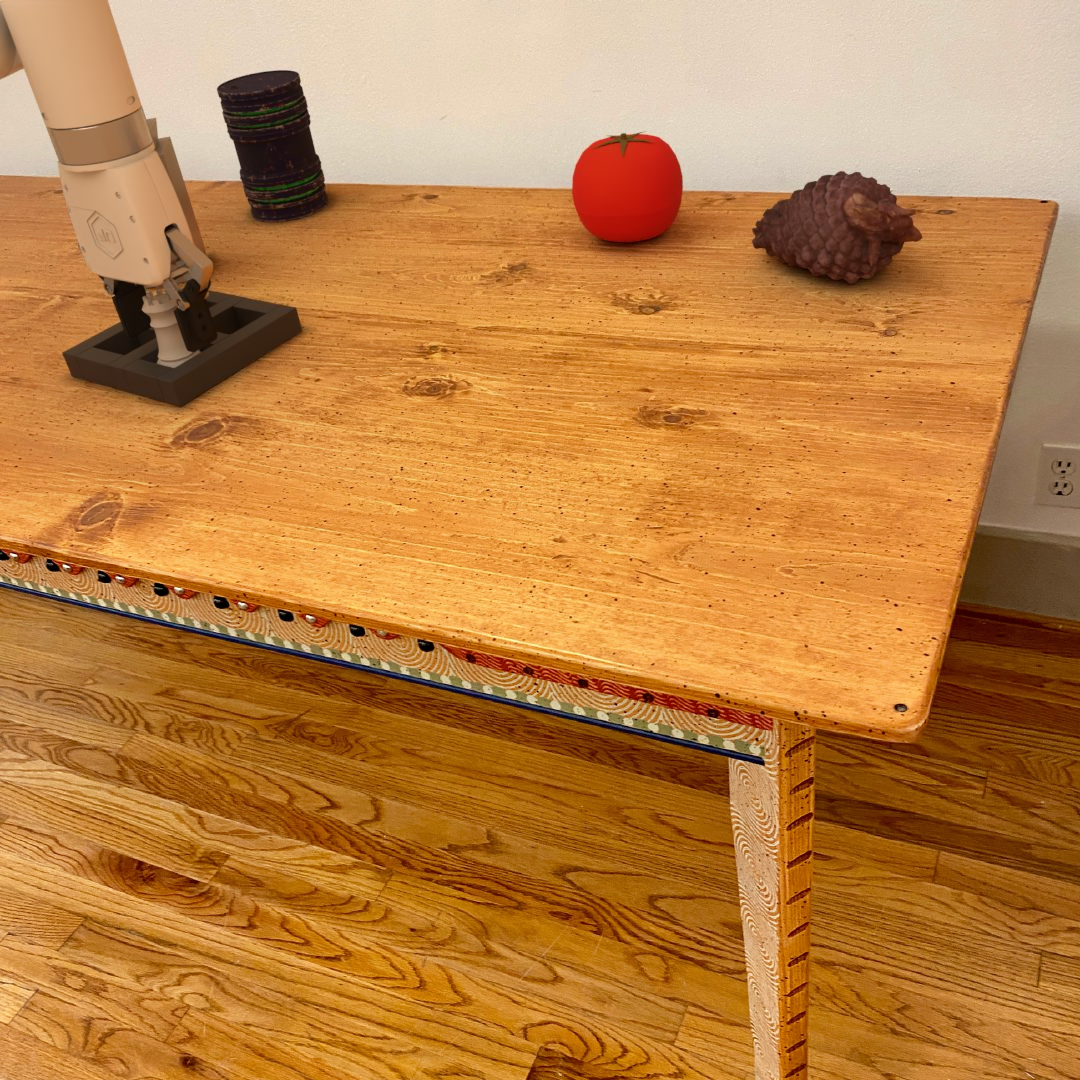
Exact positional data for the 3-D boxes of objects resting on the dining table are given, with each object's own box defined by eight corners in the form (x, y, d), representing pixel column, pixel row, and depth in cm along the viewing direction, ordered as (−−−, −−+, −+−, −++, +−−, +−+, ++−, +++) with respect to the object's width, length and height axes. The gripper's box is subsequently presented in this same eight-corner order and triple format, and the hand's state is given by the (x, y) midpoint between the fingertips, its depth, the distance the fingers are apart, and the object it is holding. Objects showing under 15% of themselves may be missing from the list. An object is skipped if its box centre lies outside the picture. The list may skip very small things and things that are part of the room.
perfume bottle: (207, 256, 125) (156, 92, 114) (202, 278, 119) (148, 109, 109) (148, 266, 124) (91, 103, 114) (141, 289, 119) (80, 120, 108)
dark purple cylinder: (319, 187, 140) (290, 65, 131) (339, 208, 133) (309, 80, 124) (243, 206, 138) (208, 82, 129) (259, 228, 130) (223, 99, 121)
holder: (71, 376, 103) (61, 352, 101) (194, 308, 113) (187, 285, 111) (180, 407, 95) (171, 382, 94) (302, 331, 105) (296, 307, 103)
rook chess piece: (152, 378, 100) (122, 298, 96) (195, 359, 103) (168, 280, 98) (174, 392, 97) (145, 310, 93) (218, 372, 100) (191, 291, 95)
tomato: (684, 211, 118) (680, 111, 112) (685, 255, 109) (680, 148, 102) (581, 219, 120) (571, 121, 114) (573, 263, 110) (562, 159, 104)
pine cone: (720, 279, 103) (731, 172, 102) (783, 296, 109) (794, 195, 109) (886, 268, 90) (900, 144, 89) (947, 287, 96) (961, 172, 95)
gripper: (-1, 146, 89) (78, 341, 100) (135, 162, 81) (206, 373, 91) (74, 118, 94) (142, 307, 105) (210, 130, 85) (269, 335, 96)
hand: (171, 336), depth 98 cm, fingers open, 7 cm apart
